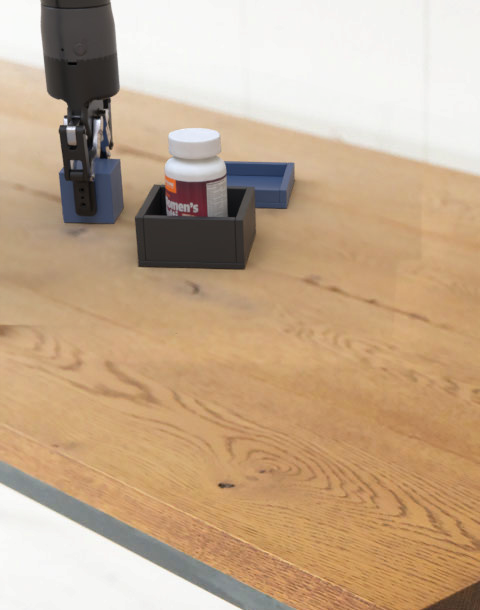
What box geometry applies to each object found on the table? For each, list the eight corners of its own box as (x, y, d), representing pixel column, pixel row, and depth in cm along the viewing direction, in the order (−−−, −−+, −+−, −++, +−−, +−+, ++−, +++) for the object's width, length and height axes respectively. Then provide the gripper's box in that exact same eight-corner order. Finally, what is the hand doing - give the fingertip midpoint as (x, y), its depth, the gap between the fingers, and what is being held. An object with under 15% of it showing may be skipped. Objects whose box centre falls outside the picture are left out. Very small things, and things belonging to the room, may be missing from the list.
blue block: (63, 222, 145) (58, 172, 143) (74, 206, 150) (70, 157, 147) (114, 223, 145) (110, 173, 142) (124, 207, 150) (120, 158, 147)
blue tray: (165, 205, 151) (164, 187, 150) (180, 177, 160) (179, 159, 159) (286, 208, 150) (286, 190, 149) (294, 179, 159) (294, 162, 158)
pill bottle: (156, 247, 137) (149, 137, 132) (191, 230, 142) (186, 122, 136) (206, 258, 134) (201, 146, 129) (240, 240, 139) (237, 131, 134)
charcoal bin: (138, 266, 134) (134, 217, 131) (156, 230, 143) (153, 184, 141) (244, 269, 134) (242, 219, 131) (256, 233, 143) (254, 186, 140)
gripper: (60, 32, 145) (74, 183, 153) (25, 63, 133) (43, 225, 141) (129, 34, 145) (140, 185, 153) (101, 64, 132) (114, 227, 141)
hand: (93, 204), depth 147 cm, fingers open, 6 cm apart
